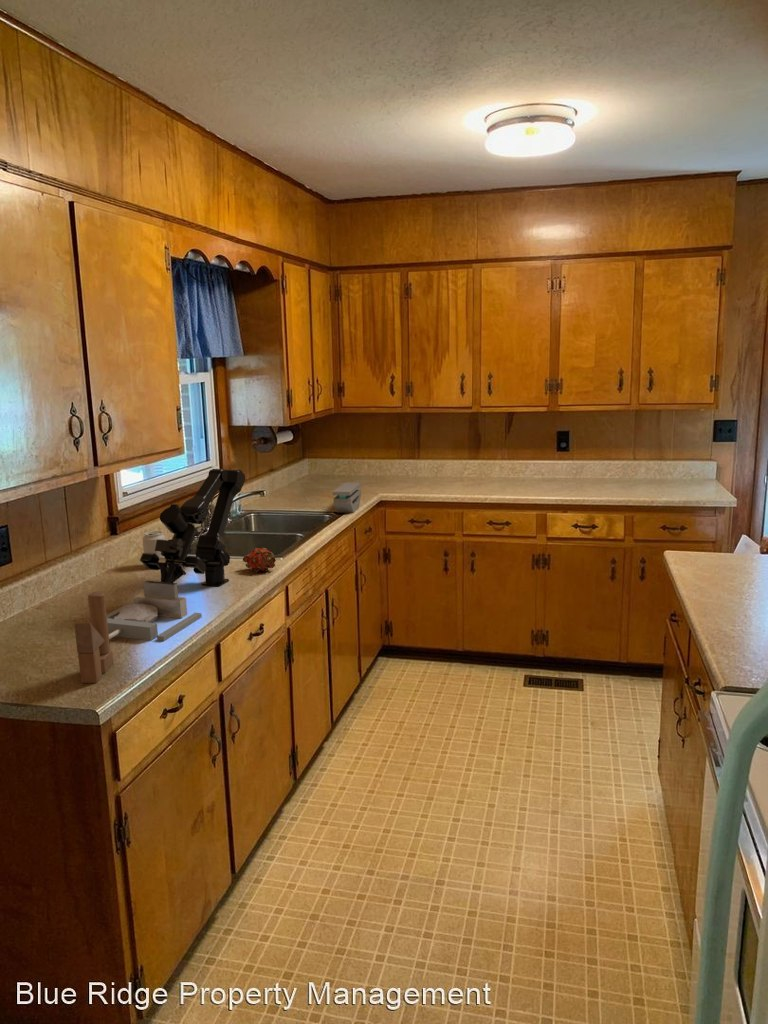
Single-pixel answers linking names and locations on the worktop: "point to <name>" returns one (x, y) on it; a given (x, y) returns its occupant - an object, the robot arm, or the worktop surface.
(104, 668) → the wooden block
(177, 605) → the bar
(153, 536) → the can
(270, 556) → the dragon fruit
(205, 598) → the worktop surface
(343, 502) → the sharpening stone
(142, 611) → the stone block
